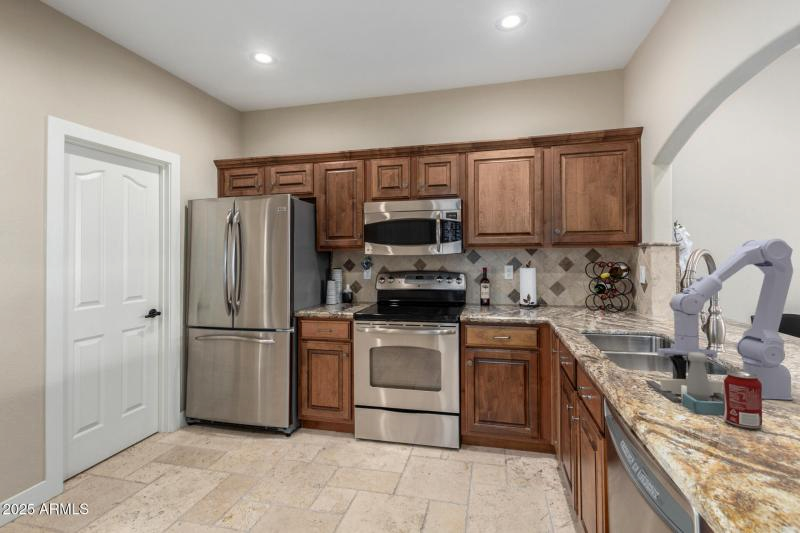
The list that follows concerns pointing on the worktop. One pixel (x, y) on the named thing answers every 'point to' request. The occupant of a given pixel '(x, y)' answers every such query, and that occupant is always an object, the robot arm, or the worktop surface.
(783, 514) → the worktop surface
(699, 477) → the worktop surface
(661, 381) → the pusher bar
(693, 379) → the salt shaker
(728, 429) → the worktop surface
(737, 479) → the worktop surface
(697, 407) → the frame
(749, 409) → the soda can
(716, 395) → the rails
